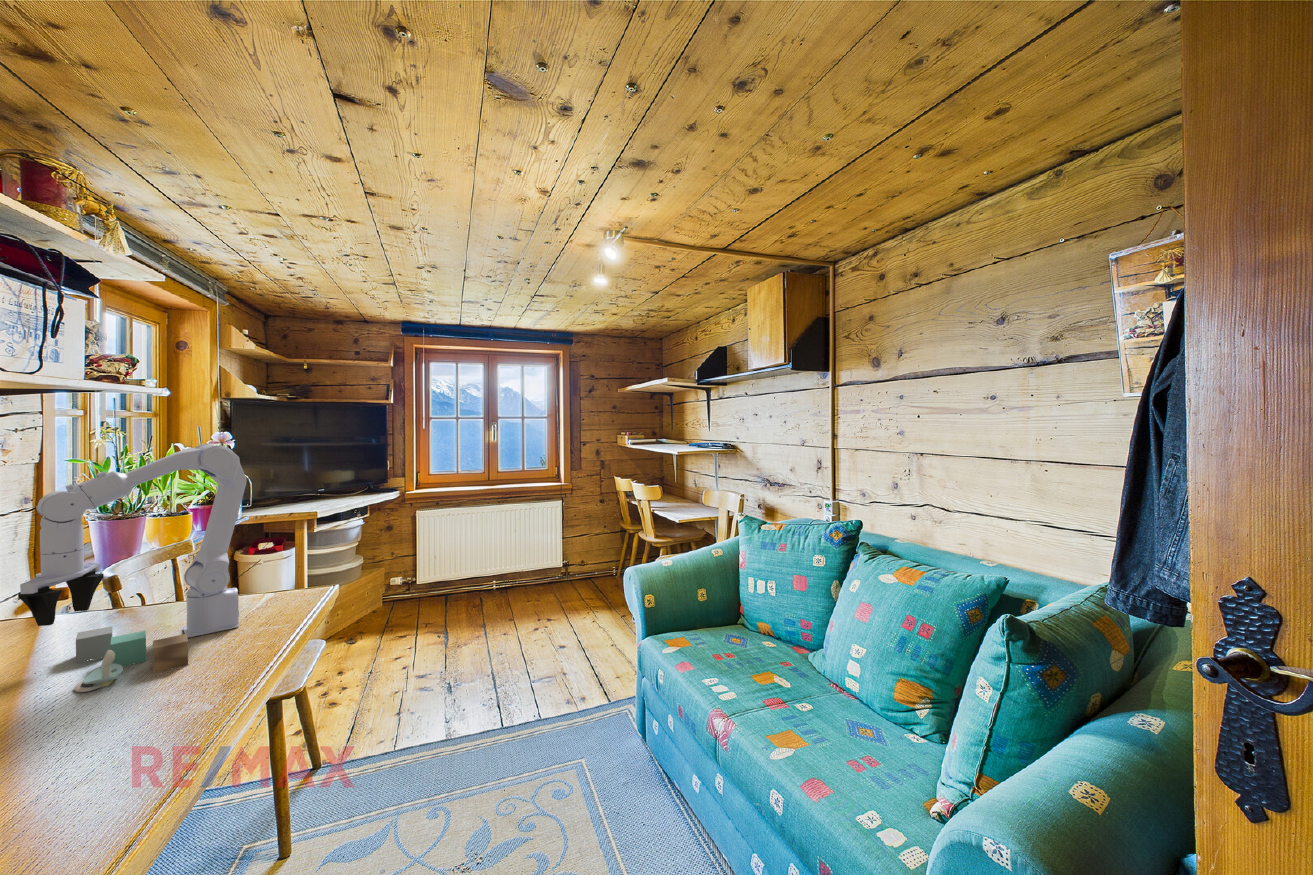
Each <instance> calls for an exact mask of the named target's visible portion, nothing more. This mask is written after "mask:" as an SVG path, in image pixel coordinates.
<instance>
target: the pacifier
mask: <svg viewBox="0 0 1313 875" xmlns="http://www.w3.org/2000/svg"><path fill="white" fill-rule="evenodd" d="M114 659H115V653H114V652H113V651H112V650H108V651H107V652H106V654H105V656H104V658H102V662H101V666H100V667H98V668H96V669H95V670H94V671H92V672H91V673H89V674H88V675H87V676H86V677H85V678H84V680H81V681H79V682H78V683H77V684H76V685H75V686H74V689H73V690H74V691H75V692H77V693H86V692H91V691H94V690H97V689H99V688H103V687H107V686H109V685H111V684H112V683H113V682H114V681H115V680H117V679H120V675H121V674H122V673H123V669H124V668H123V667H124V666H121V665H119V664H112V663H113V661H114ZM92 684H93V686H87V687H83V686H85V685H92Z"/></svg>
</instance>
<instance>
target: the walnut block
mask: <svg viewBox="0 0 1313 875" xmlns="http://www.w3.org/2000/svg"><path fill="white" fill-rule="evenodd" d="M188 639H189V638H187V635H186V634H185V633H184V634H179V635H174V636H170V637H168V636H167V637H164V638H159V639H155V640H154V639H153V641H152V654H153V655H152V665H153V666H152V667H153V674H156V673H160V672H161V673H162V672H164V671H168V669H169V670H172V669H171V668H173V669H177V668H181V667H184V666H189V640H188Z"/></svg>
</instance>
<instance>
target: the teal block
mask: <svg viewBox="0 0 1313 875" xmlns="http://www.w3.org/2000/svg"><path fill="white" fill-rule="evenodd" d="M146 634H147V632H146V630H142V631H137V632H129V633H127V634H121V635H116V636H115V635H114V636H112V637H111V650H112V651H113V652H114V653H115V659H114V661H113V663H112V664H119V665H121V666H122V667H126V666H125V665H127V666H130V665H129V664H131V665H134V664H133V663H136V664H140V663H144V662H147V637H146V636H147V635H146Z"/></svg>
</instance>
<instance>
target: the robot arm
mask: <svg viewBox="0 0 1313 875" xmlns="http://www.w3.org/2000/svg"><path fill="white" fill-rule="evenodd" d="M240 461H241V460H240V456H239V455H237V454H236V453H235V452H234V451H233V450H232V449H231V448H229V447H228V446H224V445H219V444H218V445H217V444H216V445H214V444H209V443H203V444H200V445H197V446H195V447H190V448H189V447H188V448H185V449H183V450H180V451H176V452H174V453H172V454H168V455H167V456H165V457H164V456H163V457H161V458H159V459H155V461H151V462H149V463H147V464H145V465H142V466H139V467H137V468H135V469H132V470H129V471H128V472H118V471H114V470H112V471H109V472H108V473H107V472H106V471H101V472H98V473H96V475H95V476H96V477H94V478H91V479H88V480H86V481H82V482H80V483H77V484H75V485H73V484H72V483H70V484H69V485H68V484H67V485H66V486H65V489H66V490H56V491H52V492H50V493H46V494H45V495H43V496H42V498H40V499H39V501H38V503H37V505H36V507H35V509H36V512H37V513H38V514H40V516H42V517H41V518H40V522H39V524H40V528H41V529H40V530H39V552H40V554H39V555H40V572H39V573H36V574H35V577H33V578H32V579H30V580H28V581H26V582H22V583H19V584H20V585H19V587H20V589H19V592H18V593H17V598H18V599H19V600H20V601H21V602H23V603H24V604H25V606H27V608H28V609H29V611H30V612H31V614H32V616H33V618H34V620H35V622H36V625H37V626H38V627H42V626H45V627H47V626H52V625H54V623H55V621H56V613H57V612H56V610H57V603H58V600H59V597H60V595H61V594H62V593H63V592H62V591H63V590H62V589H53V588H51V587H53V586H56V585H60V584H62V583H65V584H66V585H67V587H68V589H69V593H70V596H71V604H72V608H73V612H86V611H88V610H89V609H90V606H91V603H92V600H93V597H94V595H95V593H96V590H97V588H98V587H99V585H100V583H101V582H102V581H103V579H104V578H105V577H104V573H102V572H101V570H102V569H101V562H89V563H85V547H84V546H85V544H84V543H85V542H84V539H85V538H84V526H83V520H82V519H83V518H82V516H84V514H85V513H86V511H87V510H91V511H92V510H94V509H97V508H99V507H102V506H104V505H106V504H109V503H111V502H115V501H117V500H119V499H121V498H124V497H127V496H130V494H131V493H132V491H133V489H134V488H135V487H136V486H139V485H141V484H144V483H147V482H149V481H152V480H155V479H158V478H160V477H163V476H166V475H168V474H172V473H174V472H177V471H181V470H183V471H186V470H187V471H201V472H203V473H205V474H207V475H208V476H209V478H211V479H212V480H213V481H214V482H215V483H216V484H217V486H218V487H217V489H216V492H215V496H214V500H213V503H212V508H211V511H210V514H209V517H208V521H207V524H206V527H205V530H204V536H203V538H202V542H201V545H200V549H199V551H198V552H197V553H196V555H194V558H193V561H192V563H191V565H189V566H188V568H187V569H186V570H185V571H184V575H183V580H184V582H185V583H186V585H187V586H189V589H188V591H187V592H186V625H185V626H183V632H184V634H186V635H187V639H189V638H194V637H199V636H203V635H207V634H212V633H217V632H222V631H226V630H231V629H235V628H236V629H237V628H239V627H240V625H239V620H240V618H239V617H240V611H239V593H238V592H239V590H238V588H237V587H229V588H228V585H229V583H230V581H231V580H230V579H231V578H230V573H229V565H230V560H229V555H228V552H229V547H230V544H231V541H232V537H233V534H234V530H235V526H236V522H237V519H238V516H239V511H240V507H241V504H242V500H243V497H244V493H245V491H246V490H245V489H246V486H247V483H248V482H247V481H248V480H247V476H246V474H245V472H244V470H243V467H242V465H241V462H240ZM100 572H101V573H100Z"/></svg>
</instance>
